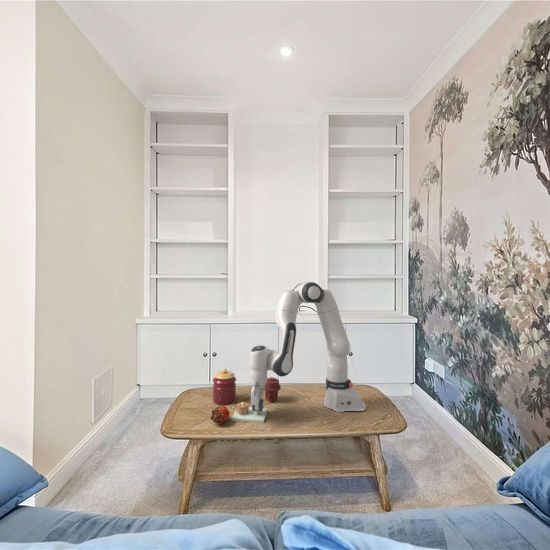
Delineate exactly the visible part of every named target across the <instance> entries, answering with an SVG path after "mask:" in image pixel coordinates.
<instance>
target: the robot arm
mask: <svg viewBox="0 0 550 550" xmlns="http://www.w3.org/2000/svg"><path fill="white" fill-rule="evenodd" d="M303 303H304V304H309V303H310V304H313V305H314V306H315V308H316V312H317V315H318V319H319V322H320V324H321V328H322V331H323V334H324V338H325V340H326V342H325V344H326V345H325V347H326V378H325V395H324V400H323V403H322V404H323V406H325V408H328V409H329V410H332V409H333V410H332V411H334V412H335V411H336V412H335V413H345V412H344V411H364V410H365V409H366V410H367V406H366V403H365V401H364V400H363V399H362V396H361V394H360V392H359V390H356V389H355V387H354V384H353V382H352V381H351V379H350V378H348V375H349V373H348V370H349V369H348V368H349V365H348V357H347V356H348V355H349V354H350V352H351V344H350V341H349V338H348V335H347V332H346V329H345V326H344V324H343V321H342V317H341V314H340V311H339V308H338V305H337V302H336V300H335V297H334V295H333V293H332V292H331V290H329V289H323V288H322V287H321V286H320V285H319V284H318V283H316V282H315V281H305V282H301V283H299V284H296V286H295V287H294V288H293V289H292V290H288V289H287V290H285V291H283V293H282V294H281V296H280V298H279V300H278V304H277V306H276V310H275V313H274V322H275V324H276V325H277V327H278V328H279V330H280V332H281V333H282V343H281V348H280V352H279V351H276V350H274V349H269V348H268V347H266V346H265V345H256V346H253V347H252V348H251V350H250V353H249V367H250V370H249V384H250V385H251V386H252V387H251V393H250V404H251V406H252V405H255V409H256V410H258V409H259V402H260V399H263V395H264V392H265V391H264V390H265V384H266V383H267V378H268V371H272V372H273V373H275V374H276V375H277V376H279V377H281V378H282V377H286V376H288V375H289V374H290V373H291V372H292V370H293V368H294V359H293V358H294V349H295V343H296V337H297V327H296V326H297V324H296V323H297V322H296V321H297V316H298V313H299V308H300V306H301V304H303ZM366 410H365V411H366ZM365 411H364V412H365Z"/></svg>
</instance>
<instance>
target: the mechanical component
mask: <svg viewBox="0 0 550 550" xmlns="http://www.w3.org/2000/svg"><path fill="white" fill-rule="evenodd" d="M280 390H281V384H280V380H279V379H278V378H276V377H272V376H271V377H267V383H266V384H265V390H264V392H265V395H264V399H265V400H267V401H269V403H271V404H272V403H273V402H274V401H276V400H277V399H278V396H279V394H278V393H279V391H280Z"/></svg>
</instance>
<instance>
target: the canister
mask: <svg viewBox="0 0 550 550" xmlns="http://www.w3.org/2000/svg"><path fill="white" fill-rule="evenodd" d="M236 381H237V378H236V377H235V373H234V372H232V371H230V370H227V369H226V368H223V369H222V370H220V371H217V372H216V373H215V374H214V377H213V379H212V383H213V384H212V402H213V403H214V404H216V405H219V406H221V405H223V406H225V405H226V406H227V405H230V404H232V403H234V402H235V401H236V399H237V392H236V390H237V383H236Z"/></svg>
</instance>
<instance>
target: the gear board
mask: <svg viewBox="0 0 550 550" xmlns="http://www.w3.org/2000/svg"><path fill="white" fill-rule="evenodd" d="M235 407H236V408H235V411H234V413H233V414H232V416H231V419H230V421H232V422H233V421H235V422H248V423H262V424H265V421H266V417H267V414H268V411H269V408H263V411H262V412H255V411H252V406H249V404H248V403H247V402H245V401H242V402H238V403H236V406H235Z"/></svg>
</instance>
